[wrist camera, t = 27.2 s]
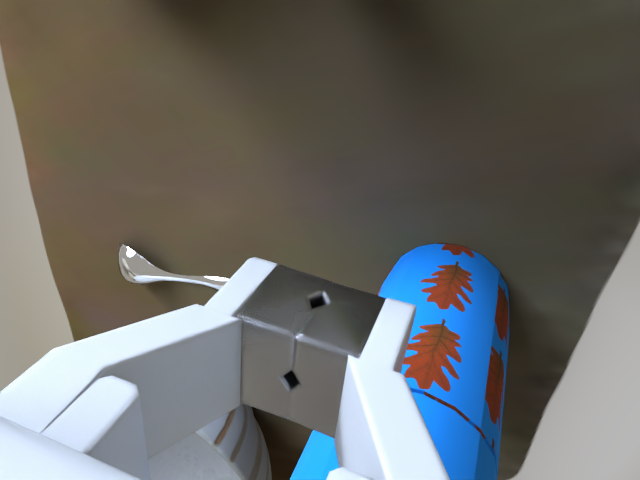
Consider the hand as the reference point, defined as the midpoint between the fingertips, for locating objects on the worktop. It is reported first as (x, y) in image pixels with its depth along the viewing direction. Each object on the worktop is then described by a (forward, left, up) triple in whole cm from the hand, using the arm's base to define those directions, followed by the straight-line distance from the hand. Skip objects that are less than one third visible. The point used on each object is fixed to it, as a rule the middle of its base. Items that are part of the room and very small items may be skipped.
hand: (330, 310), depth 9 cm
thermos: (+21, +2, -31) cm, 38 cm away
